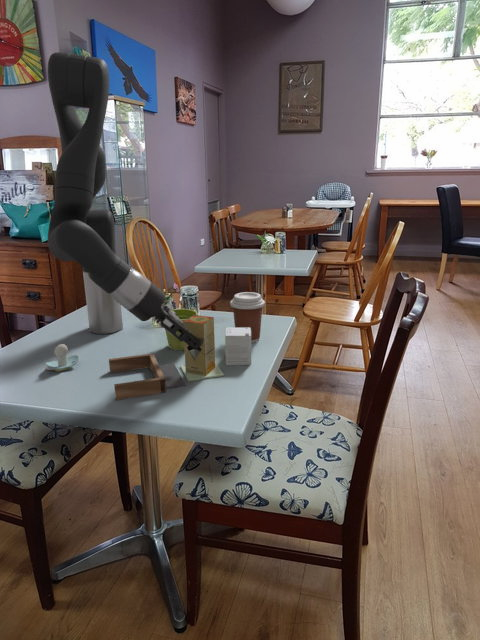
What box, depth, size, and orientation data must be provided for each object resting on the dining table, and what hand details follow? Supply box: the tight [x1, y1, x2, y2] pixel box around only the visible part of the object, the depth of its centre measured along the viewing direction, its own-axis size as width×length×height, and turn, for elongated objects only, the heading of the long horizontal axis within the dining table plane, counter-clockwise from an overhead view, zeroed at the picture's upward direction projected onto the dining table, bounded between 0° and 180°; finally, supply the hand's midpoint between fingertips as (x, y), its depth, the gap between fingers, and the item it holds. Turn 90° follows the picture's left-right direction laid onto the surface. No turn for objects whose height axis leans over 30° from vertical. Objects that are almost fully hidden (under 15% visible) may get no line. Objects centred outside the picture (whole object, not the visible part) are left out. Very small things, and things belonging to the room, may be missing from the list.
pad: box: [179, 362, 225, 382], centre depth 109 cm, size 8×8×1 cm
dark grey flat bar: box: [159, 363, 187, 390], centre depth 107 cm, size 12×4×1 cm, turn 19°
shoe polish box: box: [183, 314, 216, 376], centre depth 107 cm, size 5×5×12 cm
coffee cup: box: [229, 291, 266, 344], centre depth 127 cm, size 9×9×12 cm
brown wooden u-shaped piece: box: [108, 352, 167, 401], centre depth 104 cm, size 15×10×3 cm, turn 19°
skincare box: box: [224, 326, 252, 366], centre depth 114 cm, size 6×6×7 cm
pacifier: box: [45, 343, 79, 372], centre depth 111 cm, size 7×6×6 cm
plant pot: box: [164, 308, 199, 351], centre depth 123 cm, size 9×9×9 cm
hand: (193, 339), depth 106 cm, fingers open, 8 cm apart
